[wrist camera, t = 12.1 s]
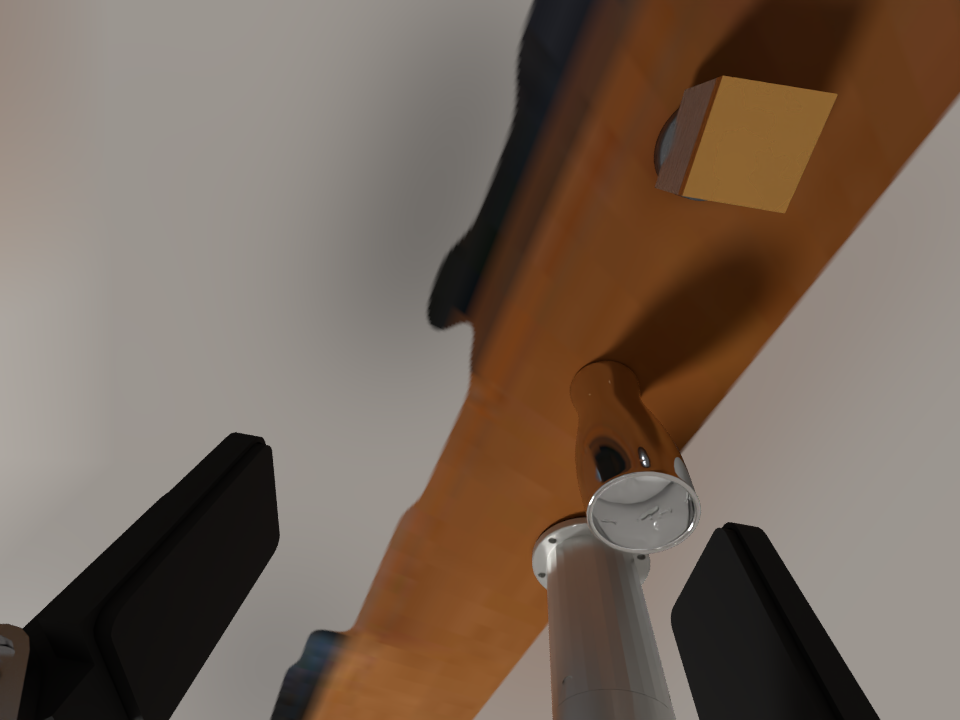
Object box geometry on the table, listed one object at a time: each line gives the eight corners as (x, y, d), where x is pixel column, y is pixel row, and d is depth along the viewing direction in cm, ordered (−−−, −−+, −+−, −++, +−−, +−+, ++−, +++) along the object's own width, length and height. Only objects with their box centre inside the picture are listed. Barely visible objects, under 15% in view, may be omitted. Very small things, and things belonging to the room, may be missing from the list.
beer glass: (660, 386, 38) (731, 513, 25) (604, 435, 41) (641, 573, 28) (602, 340, 37) (644, 448, 24) (548, 394, 40) (558, 518, 27)
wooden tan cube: (776, 105, 27) (837, 93, 22) (738, 201, 30) (784, 213, 24) (685, 89, 27) (722, 75, 22) (654, 187, 30) (682, 195, 25)
